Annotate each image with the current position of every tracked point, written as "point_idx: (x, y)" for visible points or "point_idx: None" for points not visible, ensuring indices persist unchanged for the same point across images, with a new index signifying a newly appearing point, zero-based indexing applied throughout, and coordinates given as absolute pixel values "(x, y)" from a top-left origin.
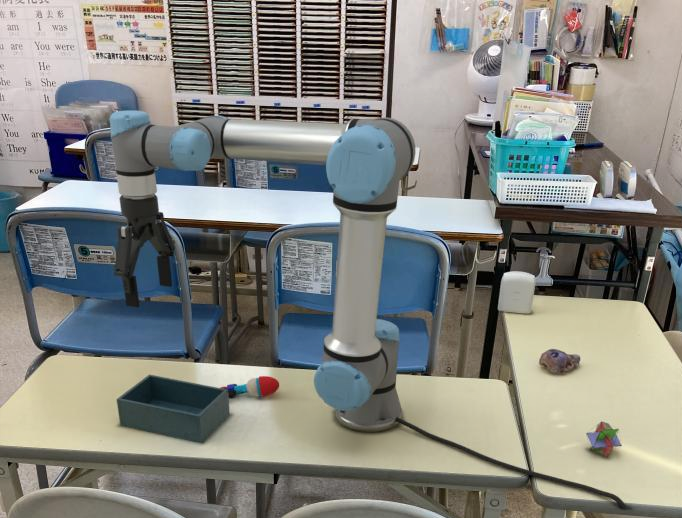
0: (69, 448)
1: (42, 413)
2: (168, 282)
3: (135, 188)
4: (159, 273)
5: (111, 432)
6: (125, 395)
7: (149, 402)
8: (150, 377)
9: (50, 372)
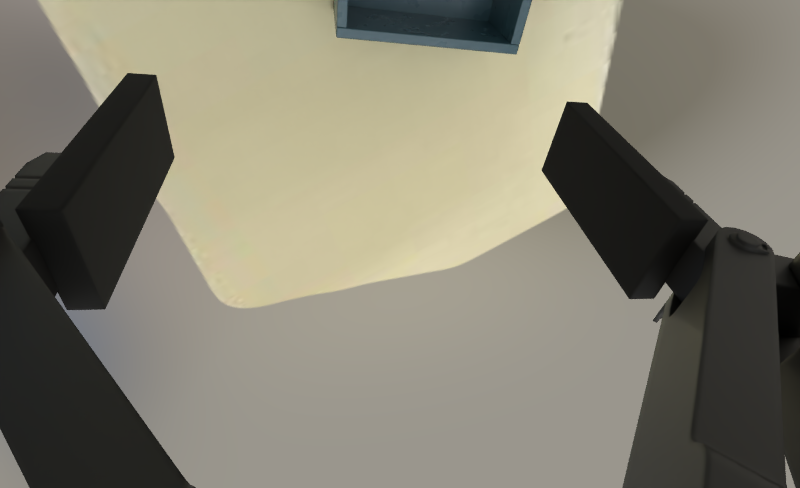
0: (600, 88)
1: (463, 211)
2: (148, 103)
3: None
4: (150, 201)
5: (527, 32)
6: (488, 41)
7: (366, 5)
8: (346, 26)
9: (299, 285)
